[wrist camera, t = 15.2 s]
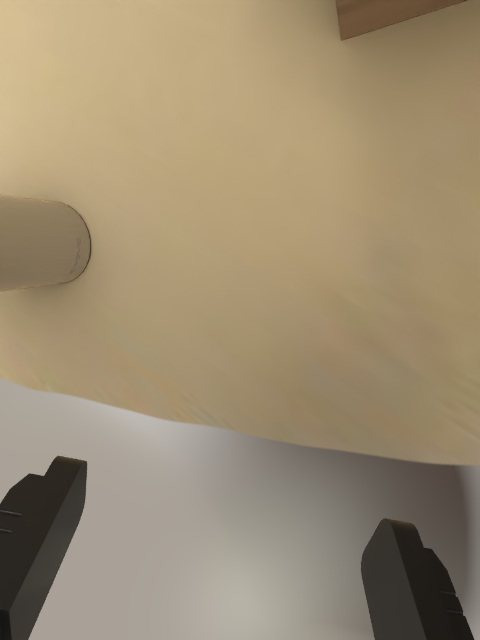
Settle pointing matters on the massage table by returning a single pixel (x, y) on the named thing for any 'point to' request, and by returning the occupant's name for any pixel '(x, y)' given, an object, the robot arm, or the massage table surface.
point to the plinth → (381, 13)
